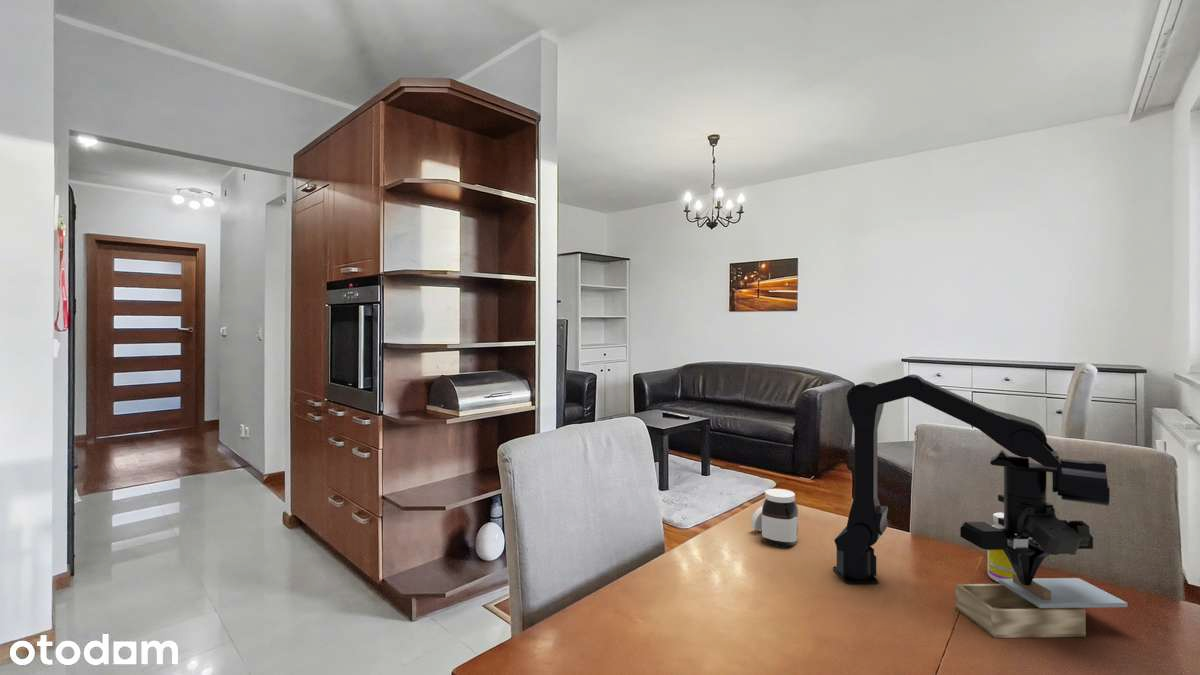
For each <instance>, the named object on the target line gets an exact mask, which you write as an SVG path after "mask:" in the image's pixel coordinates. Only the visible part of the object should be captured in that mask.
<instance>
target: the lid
mask: <svg viewBox="0 0 1200 675" xmlns="http://www.w3.org/2000/svg"><path fill="white" fill-rule="evenodd" d="M998 584H1002V585H1004V586H1005V587H1007V588H1008V589H1010V590H1012V591H1013V592H1015V593H1016V594H1018V595H1020V596H1021V597H1023V598H1025V599H1026V600H1028V601H1029V602H1031V603H1033V604H1034V605H1036V606H1037V607H1039V608H1083V609H1085V608H1128V602H1127V601H1124V600H1123V599H1121V598H1118V597H1117V596H1115V595H1113V594H1111V593H1109V592H1106V591H1105V590H1103V589H1101V588H1099V587H1097V586H1095V585H1093V584H1091V583H1089V582H1087V581H1085V580H1083V579H1082V578H1080V577H1064V578H1063V577H1056V578H1055V577H1052V578H1051V577H1049V578H1047V577H1046V578H1044V577H1043V578H1035V577H1034V578H1033V580H1032V582H1031V584H1030V585H1029V586H1025V585H1023V584H1021V583H1020V581H1019V579H1018V577H1017V575H1016V573H1013V579H999V582H998Z"/></svg>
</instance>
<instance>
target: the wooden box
mask: <svg viewBox="0 0 1200 675" xmlns="http://www.w3.org/2000/svg"><path fill="white" fill-rule="evenodd" d="M955 609H956V610H958V612H960V613H961V614H962V615H964V616H965V617H967V618H968V619H969V620H970V621H971V622H973V623H974V624H975V625H977V626H978V627H979V628H981V629H982V630H983V631H985V632H986V634H989V635H990V636H991V637H992V638H994V639H1003V638H1004V639H1013V638H1014V639H1015V638H1019V639H1020V638H1022V639H1023V638H1025V639H1026V638H1029V639H1031V638H1085V637H1087V636H1086V635H1087V634H1086V631H1087V630H1086V625H1087V624H1086V623H1087V622H1086V619H1087V618H1086V617H1087V616H1086V613H1087V612H1086V611H1087V610H1086V609H1085V608H1039V607H1037V606H1036V605H1034V604H1033V603H1031V602H1029V601H1028V600H1026V599H1025V598H1023V597H1021V596H1020V595H1018V594H1016V593H1015V592H1013V591H1012V590H1010V589H1008V588H1007V587H1005V586H1004V585H1002V584H1000V583H961V584H960V583H957V584H955Z"/></svg>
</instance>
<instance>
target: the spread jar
mask: <svg viewBox="0 0 1200 675" xmlns="http://www.w3.org/2000/svg"><path fill="white" fill-rule="evenodd" d="M764 498H765V499H764V501H763V503H762V505H761V506H760V507H759V508H757V509H756V510H755V512H754V513H753V515H752V516H751V519H750V527H751V528H752V529H754V531H755V532H758V530H761V529H762V531H761V537H762V539H763V541H765V542H767V544H769V543H771V544H773V545H772V546H775V545H778V546H777V547H780V546H790V547H792V546H796V544H797V541H798V537H799V509H798V505H797V503H796V493H795V492H793V491H792V490H789V489H784V488H769V489H766V490H765V491H764ZM771 544H770V545H771Z"/></svg>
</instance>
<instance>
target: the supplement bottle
mask: <svg viewBox="0 0 1200 675" xmlns="http://www.w3.org/2000/svg"><path fill="white" fill-rule="evenodd" d="M992 517H993V518H992V520H993V522H994V524H992V525H991V524H990V525H991V526H994V527H996V528H998V529H1003V528H1004V526H1002V525H1000V524H998V518H1004V512H995V513H993V515H992ZM1015 535H1017V534H1015ZM986 551H987V553H986V554H987V575H988V577H989V578H990V579H992V581H995V582H997V583H999V579H1013V573H1015V571H1014V569H1013V567H1012V565H1011V563H1010V561H1009V559H1008V557H1007V556H1006V554H1005V553H1004V551H1003V550H986Z"/></svg>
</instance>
